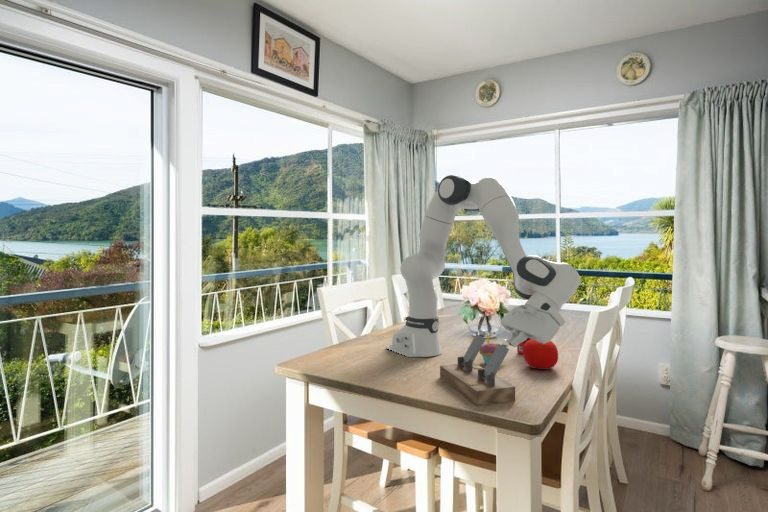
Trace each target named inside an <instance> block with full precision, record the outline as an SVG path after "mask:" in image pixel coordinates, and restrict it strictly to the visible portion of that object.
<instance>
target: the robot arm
mask: <svg viewBox="0 0 768 512" xmlns="http://www.w3.org/2000/svg"><path fill="white" fill-rule="evenodd" d="M460 210H463V211H465V212H467V211H468V212H469V211H473V212H475V211H479V212H480V213H481V216H482V218H483V220H484V221H485V223H486V226H488V229H489V230H490V231H491V233H492V234H493V236H494V238H495V240H496V241H497V243H498V244H499V246H500V248H501V251H502V252H503V255H504V257H505V259H506V261H507V263H508V265H509V268H510V270H511V272H512V275H513V282H512V283H513V289H514V292H515V294H517V295H518V296H519V297H521V298H522V299H525V300H527V301H526V302H525V303H524V304H520V305H518V306H514V307H513V308H512V309H510V310H509V311H508V312H507V313H506V314H505V315H504V316H503V317H502V318H501V320H500V324H501V326H502V327H504V329H505V330H507V331H509V332H511V333H510V336H509V338H508V339H507V340H508V341H509V346H511V347H513V348H517V346H518V345H519V343H522V342H523V341H525V340H526V339H527V338H530V339H533V340H535V341H538V342H541V343H543V344H545V343H547V342H549V341H552V339H553V338H554V337H555V336H556V334H557V333H558V332H559V330H560V327H562V326H564V325H565V323H566V320H565V318H564V317H563V315H561V313H560V311H561V309H562V307H563V306H564V305H565V304H566V303H568V302H569V301H570V299H572V297H573V295H574V294H575V293H576V292H577V290H578V288H579V287H580V284H581V277H580V273H579V272H578V271H577V270H576V268H575V267H574V266H572V265H571V264H569V263H567V262H555V261H550V260H547V259H545V258H543V257H541V256H539V255H537V254H536V255H535V254H528V255H527V254H526V252H525V250H524V248H523V246H522V243H521V240H520V239H521V238H520V227H519V226H520V222H519V221H520V217H519V213H518V209H517V206H516V204H515V202H514V200H513V198H512V197H511V195H510V193H509V192H508V190H507V189H506V188H505V186H504V185H503V184H502V183H501V182H500V181H499V179H497V178H496V177H493V176H486V177H484V178H482V179H480V180H476V179H474V178H472V177H464V176H461V175H458V174H451V175H446V176H445V177H443V178H442V179H441V181H440V182H439V184H438V187H437V191H436V192H435V193H434V194H433V196H432V197H431V199H430V202H429V204H428V205H427V208H426V210H425V211H426V212H425V214H424V216H423V221H422V223H421V227H420V230H419V234H418V237H419V250H418V253H412V254H409V256H407V257H405V258H404V259H403V260H402V262H401V264H400V267H399V268H400V274H401V276H402V278H403V279H404V280H405V284H406V287H407V292H408V307H409V308H408V316H407V317H406V316H405V317H404V318H403V322H404V321H406V322H405V325H403V326H402V327H400V328H399V330H397V331H396V332H394V334H393V335H392V339H391V343H390V344H388V345H387V346H385V349H386V348H387V349H389V350H388V351H390V350H392V351H391V352H393V351H394V352H393V353H396V352H397V353H396V354H398V353H399V354H398V355H401V354H402V355H401V356H404V355H405V357H407V358H415V357H416V358H417V357H418V358H419V357H421V358H425V357H427V358H428V357H429V358H430V357H436V356H439V355H440V354H442V349H441V345H440V339H439V326H440V325H439V322H440V320H439V316H438V309H439V308H438V306H439V305H438V302H439V301H438V295H437V294H436V291H435V288H434V282H433V280H435V279H437V278H438V277H440V276H441V274H443V272H444V271H445V268H446V262H445V256H446V250H447V249H446V248H447V245H448V244H447V243H448V240H449V238H450V233H451V231H452V228H453V224H454V222H455V218H456V215H457V213H458V212H459V211H460ZM387 349H386V350H387Z"/></svg>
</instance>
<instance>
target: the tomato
mask: <svg viewBox="0 0 768 512" xmlns="http://www.w3.org/2000/svg"><path fill="white" fill-rule="evenodd" d="M523 355H524V356H523ZM523 355H522V356H523V358H524V361H525V362H526V364H527V365H528V366H529V367H531V368H532V369H536V370H537V369H540V370H548V369H552V368H554V367H555V366H556V365H557V364H558V361H559V351H558V347H557V345H556V344H555V343H554V342H553V341H552V340H550V341H549V342H547V343H545V344H543V343H541V342H538V341H535V340H533V339H530V340H528V341H527V342H526V343H525V345H524V347H523Z"/></svg>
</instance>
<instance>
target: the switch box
mask: <svg viewBox="0 0 768 512" xmlns="http://www.w3.org/2000/svg"><path fill="white" fill-rule="evenodd" d="M463 357H464V355H463V356H462V355H461V356H457V363H454V364H443V365H439V378H440V380H442V381H444V383H446V384H448V385H449V386H450V387H451V388H453V389H454V390H455V391H456V392H458V393H459V394H461V395H462V396H463V397H464V398H466V399H467V400H469V401H470V402H471V403H473V404H474V405H475V406H476V407H478V406H484V405H492V404H500V403H507V402H508V401H509V402H515V401H516V386H515V385H513V384H512V383H510V382H508V381H506V380H505V379H503V378H502V377H499V376H497V374H496V375H495V374H494V373H491V374H486V376H484V375H483V374H482V373H483V371H484V369H485V367H482V366H481V365H479V364H477V363H476V362H475V361H472V360H471V361H465V363H463V362H461V361H462V359H463Z"/></svg>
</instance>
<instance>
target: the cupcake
mask: <svg viewBox="0 0 768 512" xmlns="http://www.w3.org/2000/svg"><path fill="white" fill-rule="evenodd" d="M485 332H486V341H487V343H485V344H483V345H482V347H481V349H480V350H479V352H478V353H479V354H480V355H481V356H482V358H483V362H484V364H485V365H486V364H488V362H489V360H490V358H491V356H492V354H493V353H494V351H495V349H496V347H497V345H498V343H496V344H495V343H490V337H489V333H488V331H487V330H485Z"/></svg>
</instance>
